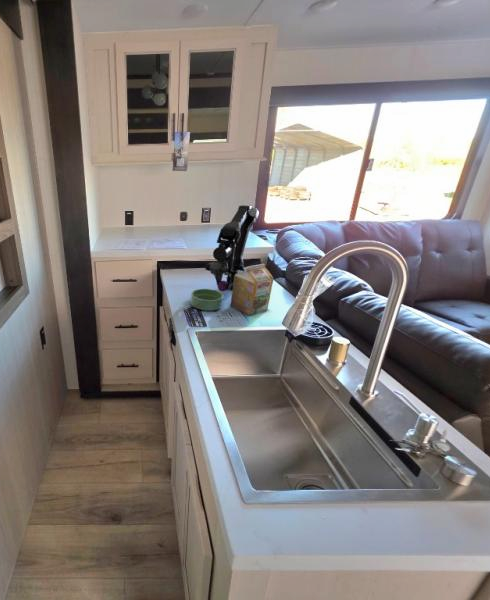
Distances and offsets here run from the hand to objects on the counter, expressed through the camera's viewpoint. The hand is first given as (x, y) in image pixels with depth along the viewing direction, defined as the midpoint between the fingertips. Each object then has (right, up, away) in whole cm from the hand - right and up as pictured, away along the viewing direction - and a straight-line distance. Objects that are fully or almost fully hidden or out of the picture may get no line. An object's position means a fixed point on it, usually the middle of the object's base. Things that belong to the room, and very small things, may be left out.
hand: (223, 288), depth 144 cm
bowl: (-9, -7, -7) cm, 14 cm away
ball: (0, +1, -1) cm, 1 cm away
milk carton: (+8, -9, -10) cm, 15 cm away
